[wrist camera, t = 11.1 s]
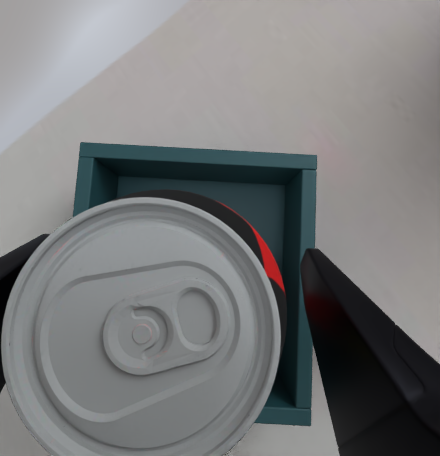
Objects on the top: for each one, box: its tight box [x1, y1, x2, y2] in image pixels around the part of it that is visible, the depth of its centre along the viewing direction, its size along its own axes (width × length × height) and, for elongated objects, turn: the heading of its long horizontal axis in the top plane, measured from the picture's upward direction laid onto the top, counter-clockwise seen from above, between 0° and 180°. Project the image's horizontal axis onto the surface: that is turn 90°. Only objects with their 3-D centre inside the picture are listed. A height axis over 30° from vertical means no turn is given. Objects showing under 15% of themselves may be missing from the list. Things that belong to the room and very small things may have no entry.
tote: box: [73, 142, 317, 426], centre depth 15 cm, size 14×13×4 cm
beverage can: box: [1, 189, 287, 456], centre depth 11 cm, size 6×6×12 cm
